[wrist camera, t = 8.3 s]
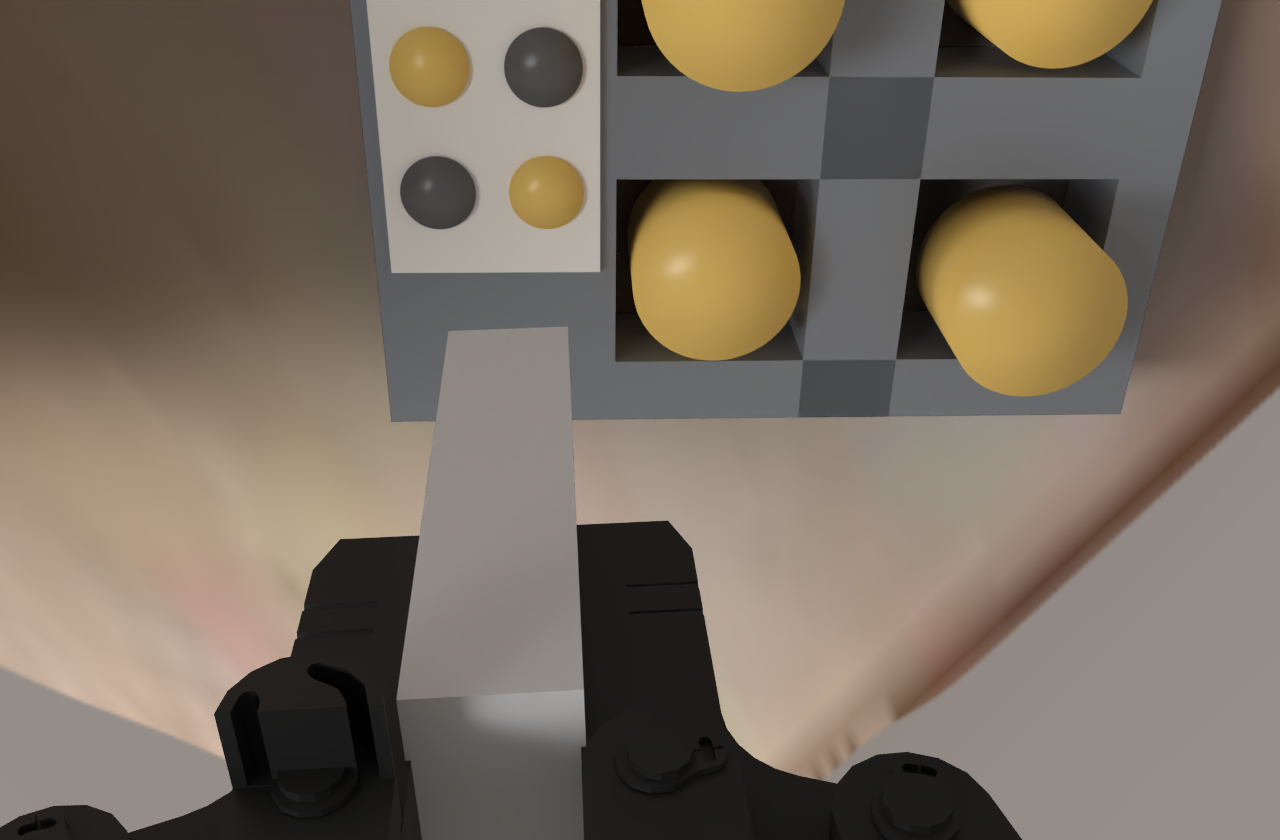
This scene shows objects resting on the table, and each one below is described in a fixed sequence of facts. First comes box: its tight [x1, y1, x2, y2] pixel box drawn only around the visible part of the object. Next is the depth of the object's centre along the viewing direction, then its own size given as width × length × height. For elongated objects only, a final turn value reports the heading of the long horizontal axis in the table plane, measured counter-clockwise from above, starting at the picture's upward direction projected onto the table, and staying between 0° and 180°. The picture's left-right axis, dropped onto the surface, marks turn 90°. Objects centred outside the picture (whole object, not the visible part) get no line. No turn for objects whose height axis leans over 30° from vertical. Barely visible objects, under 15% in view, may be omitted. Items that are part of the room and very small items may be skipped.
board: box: [350, 0, 1222, 422], centre depth 31 cm, size 20×16×3 cm
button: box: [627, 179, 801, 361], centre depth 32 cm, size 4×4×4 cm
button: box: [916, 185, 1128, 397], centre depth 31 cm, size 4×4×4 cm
